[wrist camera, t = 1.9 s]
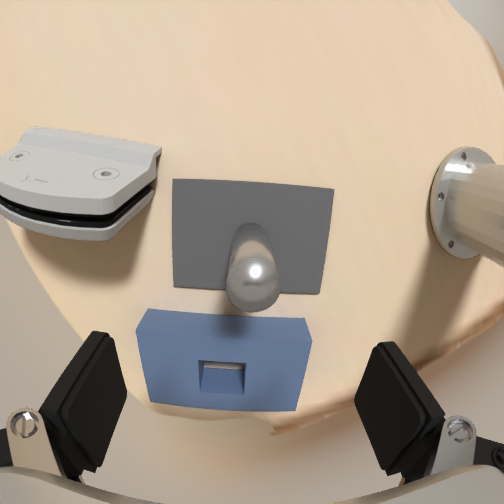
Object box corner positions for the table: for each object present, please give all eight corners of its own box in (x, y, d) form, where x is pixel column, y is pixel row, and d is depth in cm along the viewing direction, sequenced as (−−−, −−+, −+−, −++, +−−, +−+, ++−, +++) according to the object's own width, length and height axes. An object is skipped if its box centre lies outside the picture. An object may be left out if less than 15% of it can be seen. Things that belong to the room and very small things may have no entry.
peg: (268, 223, 25) (283, 264, 15) (266, 256, 26) (277, 313, 16) (234, 221, 25) (227, 261, 15) (232, 254, 26) (225, 310, 16)
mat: (333, 189, 24) (334, 189, 24) (318, 292, 27) (319, 293, 27) (173, 178, 24) (172, 179, 23) (174, 284, 27) (173, 285, 27)
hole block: (304, 318, 28) (312, 340, 24) (290, 386, 31) (295, 411, 28) (148, 308, 28) (135, 329, 24) (158, 378, 31) (150, 401, 27)
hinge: (166, 147, 23) (110, 201, 15) (159, 194, 26) (111, 261, 18) (32, 125, 21) (-36, 164, 13) (33, 164, 24) (-27, 210, 16)
